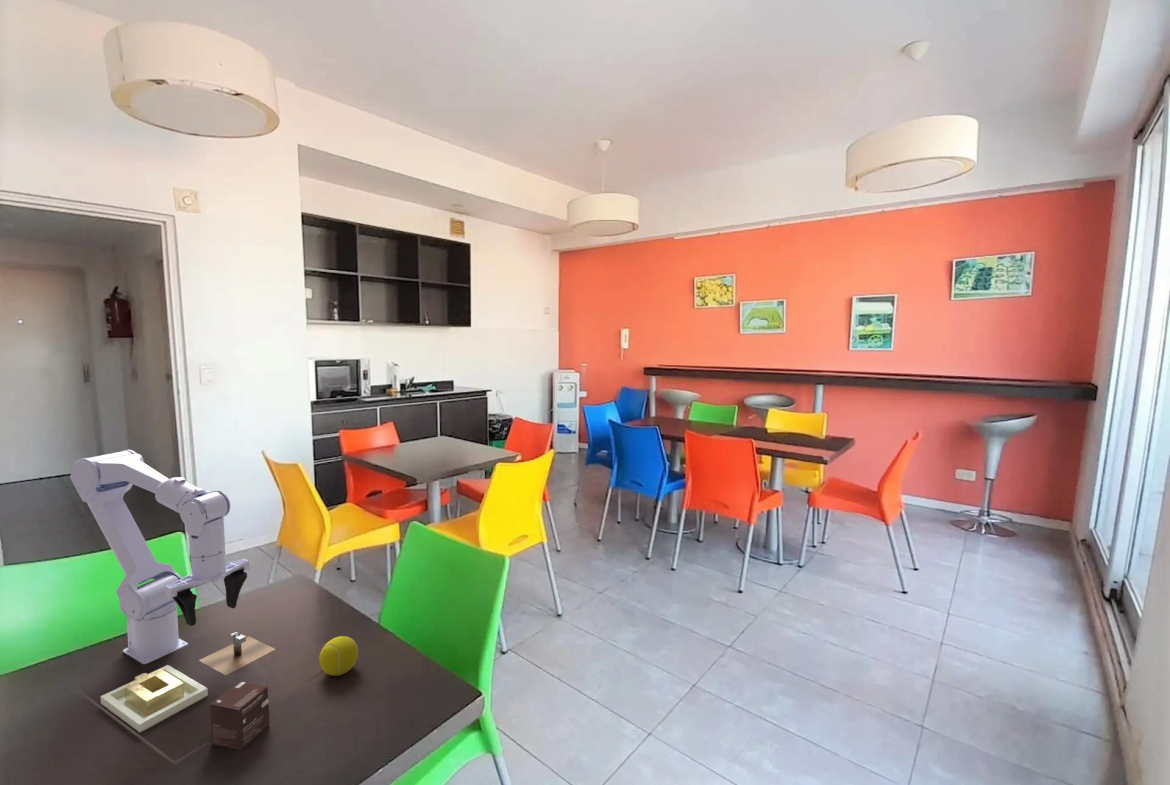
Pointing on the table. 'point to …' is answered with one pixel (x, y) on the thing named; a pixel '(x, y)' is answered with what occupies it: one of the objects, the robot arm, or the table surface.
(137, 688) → the gold hollow block
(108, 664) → the table surface
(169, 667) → the tray
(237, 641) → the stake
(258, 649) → the stake base
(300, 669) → the table surface
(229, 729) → the box
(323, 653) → the tennis ball
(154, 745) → the table surface
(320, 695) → the table surface
